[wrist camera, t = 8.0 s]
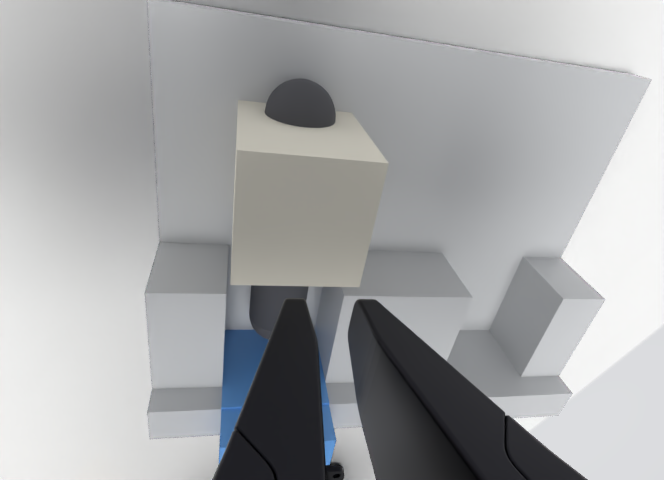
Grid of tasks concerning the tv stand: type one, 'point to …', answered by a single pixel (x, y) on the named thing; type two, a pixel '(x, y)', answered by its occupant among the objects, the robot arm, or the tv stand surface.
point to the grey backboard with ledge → (379, 208)
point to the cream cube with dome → (300, 198)
